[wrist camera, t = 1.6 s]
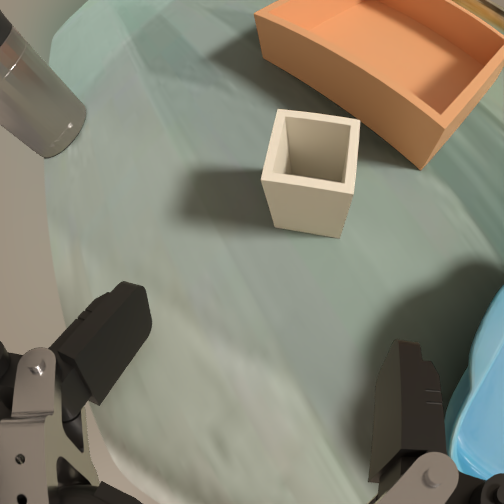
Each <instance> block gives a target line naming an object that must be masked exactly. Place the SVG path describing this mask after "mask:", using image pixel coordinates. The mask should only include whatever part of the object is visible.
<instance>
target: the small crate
mask: <svg viewBox="0 0 504 504" xmlns="http://www.w3.org/2000/svg"><path fill="white" fill-rule="evenodd" d="M359 131H360V120H357V119H351V118H345V117H339V116H332V115H325V114H318V113H310V112H302V111H293V110H283V109H278V110H277V114H276V118H275V122H274V127H273V131H272V135H271V139H270V143H269V147H268V151H267V155H266V160H265V164H264V168H263V172H262V176H261V183H262V186H263V189H264V192H265V196H266V199H267V202H268V206H269V209H270V212H271V216H272V219H273V222H274V226H275V227H276V228H282V229H288V230H293V231H299V232H305V233H311V234H317V235H322V236H328V237H334V238H339V239H340V236H341V233H342V230H343V227H344V224H345V221H346V217H347V214H348V211H349V208H350V204H351V201H352V198H353V194H354V186H355V176H356V166H357V156H358V144H359Z"/></svg>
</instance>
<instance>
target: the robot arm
mask: <svg viewBox="0 0 504 504" xmlns="http://www.w3.org/2000/svg"><path fill="white" fill-rule="evenodd" d="M85 117H86V108H85V106H84V105H83V103H82V102H81V101H80V100H79V99H78V98H77V97H76V96H75V95H74V93H73V92H72V91H71V90H70V89H69V88H68V87H67V86H66V84H65V83H64V82H63V81H62V80H61V79H60V78H59V77H58V76H57V75H56V73H55V72H54V71H53V70H52V69H51V68H50V67H49V66H48V64H47V63H46V62H45V61H44V60H43V59H42V58H41V57H40V56H39V54H38V53H37V52H36V51H35V50H34V49H33V48H32V47H31V45H30V44H29V43H28V42H27V41H26V40H25V39H24V38H23V37H22V36H21V34H20V33H19V32H18V31H17V30H16V29H15V28H14V26H12V24H11V23H10V22H9V21H8V20H7V18H6V17H5V16H4V14H3V13H2V12H1V10H0V125H1V126H3V127H4V128H5V129H7V130H8V131H9V132H10V133H12V134H13V135H14V136H16V137H17V138H18V139H19V140H21V141H22V142H23V143H24V144H26V145H27V146H28V147H30V148H31V149H32V150H33V151H35V152H36V153H38V154H39V155H40V156H42V157H52V156H54V155H56V154H58V153H60V152H61V151H63V150H64V149H65V148H66V147H67V146H68V145H69V144H70V143H71V142H72V141H73V140H74V139H75V137H76V136H77V135H78V133H79V132H80V130H81V128H82V126H83V124H84V121H85ZM151 328H152V318H151V314H150V309H149V304H148V299H147V294H146V290H145V288H144V287H143V286H140V285H136V284H133V283H129V282H125V281H123V282H120V283H119V284H118V285H117V286H116V287H115V288H114V289H113V290H112V291H111V292H110V293H109V292H107V293H105V294H103V295H102V296H100V297H98V298H96V299H95V300H94V301H93V302H92V303H91V304H90V305H89V306H88V307H87V308H86V310H85V311H83V312H82V313H81V314H80V315H79V316H78V319H75V321H74V322H73V323H72V324H71V325H70V326H69V327H68V328H67V329H66V330H65V331H64V332H63V333H62V335H61V336H60V337H59V338H58V339H57V340H56V341H55V342H54V343H53V344H52V345H51V347H49V348H48V349H47V348H43V347H39V348H34V349H31V350H29V351H28V352H26V353H25V354H24V355H19V354H14V353H8V352H7V351H6V349H5V348H4V345H3V344H2V342H1V341H0V504H142V503H141V502H140V501H138V500H137V499H136V498H134V497H132V496H130V495H128V494H126V493H123V492H122V491H120V490H118V489H116V488H114V487H112V486H110V485H108V484H106V483H105V482H103V481H101V483H99V479H98V475H97V472H96V469H95V467H94V465H93V463H92V461H91V457H90V451H89V443H88V434H87V422H86V411H85V407H84V405H85V404H86V402H87V401H88V400H89V401H91V402H93V403H95V404H97V405H99V406H100V404H101V403H102V401H103V400H104V399H105V397H106V396H107V394H108V393H109V391H110V390H111V388H112V387H113V386H114V384H115V383H116V381H117V380H118V378H119V377H120V376H121V374H122V373H123V371H124V370H125V369H126V367H127V366H128V364H129V363H130V361H131V360H132V359H133V357H134V356H135V354H136V353H137V352H138V350H139V349H140V347H141V346H142V345H143V343H144V342H145V341H146V339H147V338H148V336H149V334H150V331H151ZM440 392H441V386H440V379H439V374H438V373H437V371H436V369H435V367H434V366H433V364H432V362H431V361H423V360H422V354H421V347H420V344H419V343H418V342H412V341H405V340H398V339H395V340H394V342H393V343H392V346H391V348H390V350H389V352H388V354H387V357H386V359H385V361H384V363H383V365H382V367H381V369H380V371H379V374H378V377H377V381H376V388H375V408H374V425H373V438H372V450H371V460H370V470H369V478H368V482H374V483H379V488H378V493H377V494H376V495H375V496H374V497H373V498H372V499H371V500H370V501H369V502H368V503H367V504H504V473H499V474H496V475H493V476H492V477H490V478H489V479H488V480H483V479H480V478H477V477H473V476H470V475H467V474H464V473H462V472H460V471H459V470H458V469H457V466H456V464H455V462H454V461H453V460H452V459H451V458H450V457H449V456H448V455H447V450H446V435H445V423H444V412H443V405H442V394H441V393H440Z"/></svg>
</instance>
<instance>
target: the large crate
mask: <svg viewBox="0 0 504 504" xmlns="http://www.w3.org/2000/svg"><path fill="white" fill-rule="evenodd" d="M254 17H255V22H256V26H257V31H258V36H259V41H260V46H261V50H262V55H263V58H264V59H265V60H267V61H269V62H271V63H273V64H274V65H276V66H278V67H279V68H281V69H283V70H285V71H286V72H288V73H290V74H291V75H293V76H294V77H296V78H298V79H299V80H301V81H302V82H304V83H306V84H307V85H309V86H310V87H312V88H313V89H315V90H317V91H318V92H320V93H321V94H323V95H324V96H326V97H327V98H329V99H330V100H331V101H333V102H334V103H336V104H337V105H339V106H340V107H342V108H343V109H344V110H346V111H347V112H349V113H350V114H351V115H353V116H354V117H355V118H357V119H358V120H360V121H361V122H362V123H363V124H365V125H366V126H367V127H369V128H370V129H371V130H373V131H374V132H375V133H377V134H378V135H379V136H380V137H382V138H383V139H384V140H385V141H387V142H388V143H389V144H390V145H392V146H393V147H394V148H395V149H396V150H398V151H399V152H400V153H401V154H402V155H404V156H405V157H406V158H407V159H408V160H409V161H411V162H412V163H413V164H414V165H415V166H416V167H417V168H419V169H420V170H422V169H423V168H424V167H425V166H426V164H427V163H428V162H429V161H430V160H431V159H432V158H433V156H434V155H435V154H436V153H437V152H438V151H439V149H440V148H441V147H442V146H443V145H444V144H445V142H446V141H447V140H448V139H449V138H450V136H451V135H452V134H453V133H454V132H455V131H456V129H457V128H458V127H459V126H460V125H461V123H462V122H463V121H464V120H465V118H466V117H467V116H468V115H469V114H470V112H471V111H472V110H473V109H474V107H475V106H476V105H477V104H478V102H479V101H480V100H481V99H482V97H483V96H484V95H485V93H486V92H487V91H488V90H489V88H490V87H491V86H492V84H493V83H494V82H495V80H496V79H497V77H498V76H499V74H500V72H501V70H502V68H503V66H504V35H502V34H501V33H500V32H498V31H497V30H496V29H494V28H493V27H491V26H490V25H489V24H487V23H486V22H484V21H483V20H481V19H480V18H478V17H477V16H475V15H474V14H472V13H471V12H469V11H467V10H466V9H464V8H463V7H461V6H459V5H458V4H456V3H454V2H453V1H451V0H278V1H276V2H274V3H272V4H270V5H268V6H267V7H265V8H263V9H261V10H259V11H257V12H255V13H254Z"/></svg>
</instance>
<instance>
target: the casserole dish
mask: <svg viewBox="0 0 504 504" xmlns="http://www.w3.org/2000/svg"><path fill="white" fill-rule="evenodd" d="M444 423H445V435H446V450H447V455H448V456H449V457H450V458H451V459H452V460H453V461H454V462H455V464H456V466H457V469H458V470H459V471H460V472H462V473H464V474H467V475H470V476H473V477H477V478H480V479H483V480H488V479H489V478H490V477H492V476H493V475H496V474H499V473H504V285H503V286H502V287H501V288H500V289H499V291H498V292H497V293H496V295H495V296H494V298H493V300H492V301H491V303H490V305H489V307H488V309H487V311H486V313H485V315H484V317H483V318H482V320H481V323H480V325H479V327H478V330H477V332H476V334H475V336H474V339H473V342H472V345H471V349H470V353H469V362H468V367H467V369H466V371H465V372H464V374H463V376H462V377H461V379H460V381H459V383H458V385H457V387H456V389H455V390H454V392H453V395H452V397H451V399H450V402H449V405H448V407H447V411H446V415H445V420H444Z"/></svg>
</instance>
